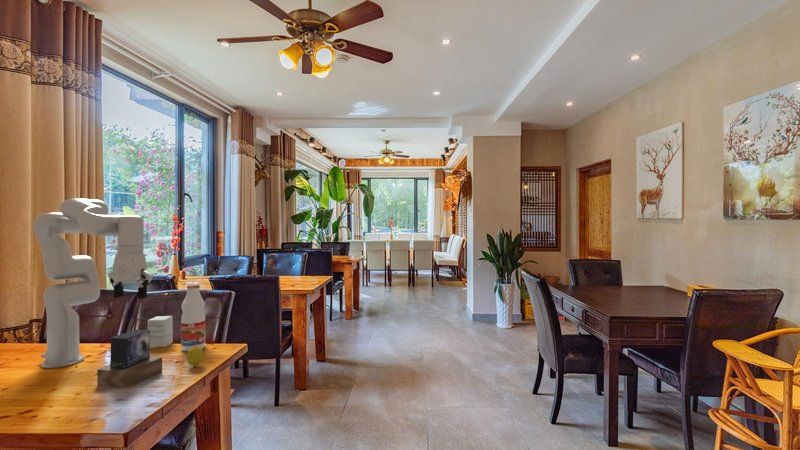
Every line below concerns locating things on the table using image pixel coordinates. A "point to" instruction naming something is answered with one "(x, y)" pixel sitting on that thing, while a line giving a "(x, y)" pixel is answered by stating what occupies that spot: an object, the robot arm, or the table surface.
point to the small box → (130, 348)
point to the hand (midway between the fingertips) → (130, 297)
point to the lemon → (195, 356)
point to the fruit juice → (193, 319)
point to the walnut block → (129, 373)
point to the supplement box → (160, 331)
